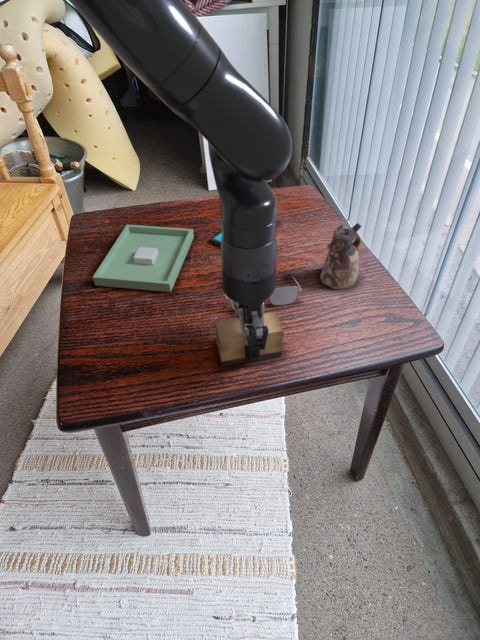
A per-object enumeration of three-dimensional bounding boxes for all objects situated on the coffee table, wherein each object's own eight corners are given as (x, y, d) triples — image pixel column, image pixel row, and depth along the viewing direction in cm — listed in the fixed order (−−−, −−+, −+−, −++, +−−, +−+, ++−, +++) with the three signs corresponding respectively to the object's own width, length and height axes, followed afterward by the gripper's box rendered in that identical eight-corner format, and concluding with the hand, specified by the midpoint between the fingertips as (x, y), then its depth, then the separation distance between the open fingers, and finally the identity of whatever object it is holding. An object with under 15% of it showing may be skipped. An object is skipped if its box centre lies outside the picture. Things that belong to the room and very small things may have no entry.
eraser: (221, 366, 68) (219, 341, 64) (216, 346, 71) (214, 321, 67) (281, 356, 69) (283, 330, 65) (273, 336, 72) (275, 311, 68)
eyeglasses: (228, 313, 77) (226, 295, 75) (220, 288, 83) (219, 271, 81) (300, 302, 79) (302, 284, 76) (288, 279, 85) (289, 262, 82)
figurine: (315, 269, 86) (322, 217, 78) (348, 265, 87) (358, 213, 79) (327, 291, 81) (336, 238, 73) (362, 286, 82) (374, 233, 74)
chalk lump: (134, 263, 88) (133, 257, 87) (140, 252, 90) (139, 246, 89) (152, 265, 87) (151, 259, 86) (158, 254, 90) (157, 248, 89)
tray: (95, 285, 84) (92, 277, 82) (128, 232, 97) (126, 224, 96) (170, 292, 82) (169, 283, 80) (194, 237, 96) (193, 229, 94)
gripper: (212, 237, 62) (218, 320, 74) (232, 299, 52) (235, 384, 64) (262, 230, 63) (260, 313, 75) (290, 290, 53) (282, 375, 65)
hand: (248, 345), depth 69 cm, fingers closed on eraser, 4 cm apart
